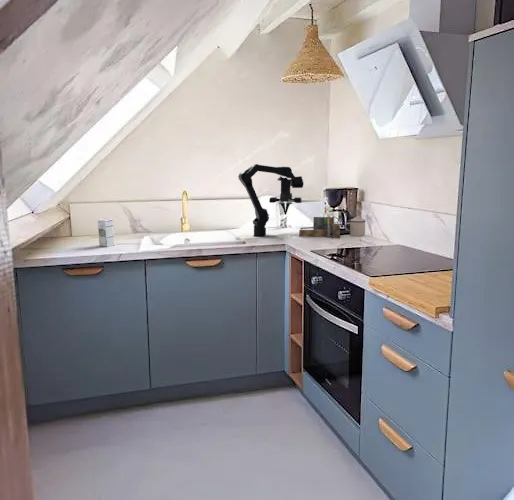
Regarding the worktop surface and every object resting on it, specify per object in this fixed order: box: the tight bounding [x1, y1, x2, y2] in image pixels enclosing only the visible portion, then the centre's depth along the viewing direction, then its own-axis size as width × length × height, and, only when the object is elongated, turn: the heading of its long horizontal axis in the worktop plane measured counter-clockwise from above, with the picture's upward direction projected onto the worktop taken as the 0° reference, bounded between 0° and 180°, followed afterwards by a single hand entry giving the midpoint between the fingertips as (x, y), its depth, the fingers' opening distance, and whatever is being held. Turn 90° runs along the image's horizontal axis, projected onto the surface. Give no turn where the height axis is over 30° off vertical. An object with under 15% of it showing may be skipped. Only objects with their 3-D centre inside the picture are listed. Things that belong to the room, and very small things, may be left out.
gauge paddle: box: [327, 218, 331, 238], centre depth 293 cm, size 1×14×9 cm, turn 173°
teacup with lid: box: [344, 215, 366, 237], centre depth 295 cm, size 12×9×12 cm
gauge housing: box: [312, 216, 341, 239], centre depth 294 cm, size 15×17×10 cm
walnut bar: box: [298, 229, 328, 238], centre depth 293 cm, size 16×4×4 cm, turn 90°
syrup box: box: [97, 217, 115, 248], centre depth 265 cm, size 6×6×14 cm
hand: (285, 214), depth 299 cm, fingers closed
